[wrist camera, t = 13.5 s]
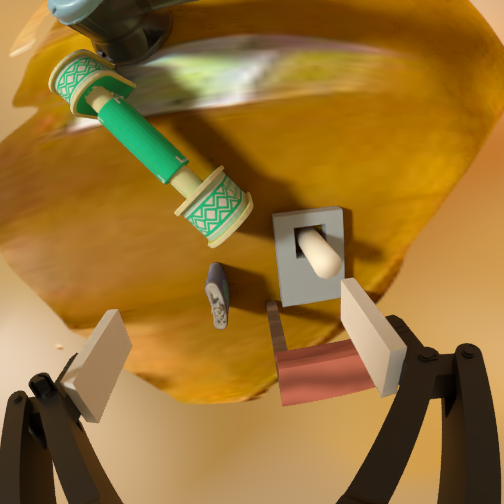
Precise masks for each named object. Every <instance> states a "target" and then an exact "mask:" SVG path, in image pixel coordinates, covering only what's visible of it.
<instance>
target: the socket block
mask: <svg viewBox="0 0 504 504" xmlns="http://www.w3.org/2000/svg"><path fill="white" fill-rule="evenodd" d="M272 222H273V231H274V240H275V249H276V258H277V267H278V276H279V285H280V295H281V301H282V305H283V307H286V306H293V305H299V304H305V303H312V302H318V301H324V300H329V299H335V298H341V280H342V279H344V232H343V211H342V209H341V208H340V207H338V206H331V207H323V208H314V209H306V210H298V211H290V212H282V213H274V214H272ZM320 224H321V226H322V238H323V239H324V240H325V241H326V242H327V243H328V244H329V245H330V247H331V248H332V249H333V250H334V251H335V252H336V253H337V254H338V256H339V257H340V259H341V262H342V265H341V269H340V271H339V272H338V274H337V275H335V276H334V277H332V278H329V279H324V278H321V277H319V276H318V275H317V274H316V273H315V271H314V269H313V267H312V266H311V264H310V262H309V261H308V259H307V258H306V256H305V254H304V253H303V252H297V253H296V248H295V237H294V228H297V227H305V226H313V225H320Z"/></svg>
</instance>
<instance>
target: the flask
mask: <svg viewBox="0 0 504 504" xmlns="http://www.w3.org/2000/svg"><path fill="white" fill-rule="evenodd" d="M205 292H206V294H207V296H208V298H209V301H210V304H211V308H212V312H211V313H212V314H213V323H214V326H215V327H216V328H217V329H219V330H221V329H224V328H226V327H227V325H228V324H227V323H228V310H229V302H230V289H229V283H228V281H227V278H226V275H225V272H224V269H223V267H222V266H221V264H220V263H217V262H215V263H212V264H211V265H210V267H209V272H208V277H207V281H206V285H205Z"/></svg>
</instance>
